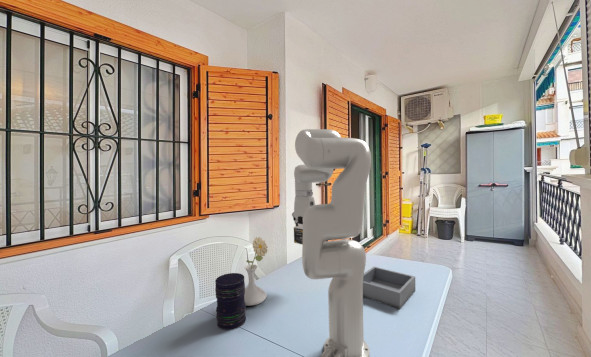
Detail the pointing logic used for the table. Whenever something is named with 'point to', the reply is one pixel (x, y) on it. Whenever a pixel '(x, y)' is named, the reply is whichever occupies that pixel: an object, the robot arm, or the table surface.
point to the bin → (388, 286)
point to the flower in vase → (253, 292)
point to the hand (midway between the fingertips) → (305, 233)
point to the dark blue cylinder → (230, 301)
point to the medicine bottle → (299, 231)
